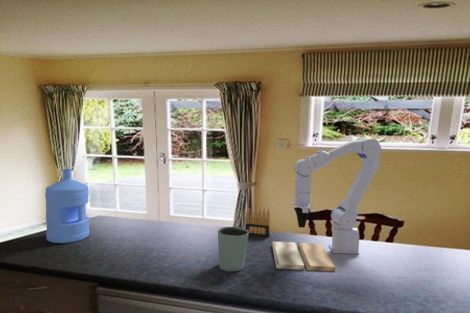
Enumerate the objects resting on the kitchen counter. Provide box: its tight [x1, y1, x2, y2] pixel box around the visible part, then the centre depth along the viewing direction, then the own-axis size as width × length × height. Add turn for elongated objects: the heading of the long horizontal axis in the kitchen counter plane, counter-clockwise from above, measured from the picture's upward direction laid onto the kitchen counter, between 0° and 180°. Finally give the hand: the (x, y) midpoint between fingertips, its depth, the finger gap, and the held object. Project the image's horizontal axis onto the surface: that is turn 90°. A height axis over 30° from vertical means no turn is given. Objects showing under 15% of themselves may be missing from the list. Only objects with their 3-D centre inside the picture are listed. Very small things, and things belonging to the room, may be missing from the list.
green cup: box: [217, 226, 249, 272], centre depth 111 cm, size 10×10×12 cm
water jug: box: [44, 168, 90, 244], centre depth 135 cm, size 16×16×28 cm
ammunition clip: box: [244, 207, 271, 238], centre depth 143 cm, size 11×2×12 cm, turn 75°
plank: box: [271, 240, 305, 271], centre depth 120 cm, size 9×22×2 cm, turn 177°
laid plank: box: [297, 242, 336, 272], centre depth 120 cm, size 9×22×2 cm, turn 177°
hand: (301, 227), depth 127 cm, fingers closed
